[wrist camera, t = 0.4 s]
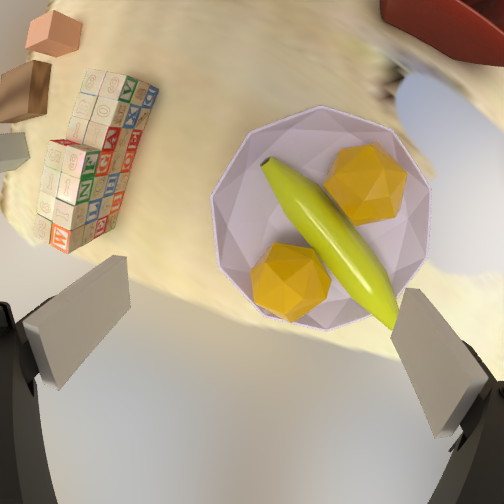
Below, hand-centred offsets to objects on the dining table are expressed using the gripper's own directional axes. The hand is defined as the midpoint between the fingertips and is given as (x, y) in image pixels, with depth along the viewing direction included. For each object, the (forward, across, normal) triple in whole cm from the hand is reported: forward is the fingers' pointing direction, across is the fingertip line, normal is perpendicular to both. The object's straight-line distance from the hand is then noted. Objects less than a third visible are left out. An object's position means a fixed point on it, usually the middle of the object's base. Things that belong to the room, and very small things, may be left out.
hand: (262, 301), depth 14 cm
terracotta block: (+27, -35, +25) cm, 51 cm away
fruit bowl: (+27, +6, -2) cm, 28 cm away
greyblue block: (+27, -45, +7) cm, 53 cm away
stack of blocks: (+28, -23, +5) cm, 36 cm away
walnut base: (+28, -43, +17) cm, 54 cm away
